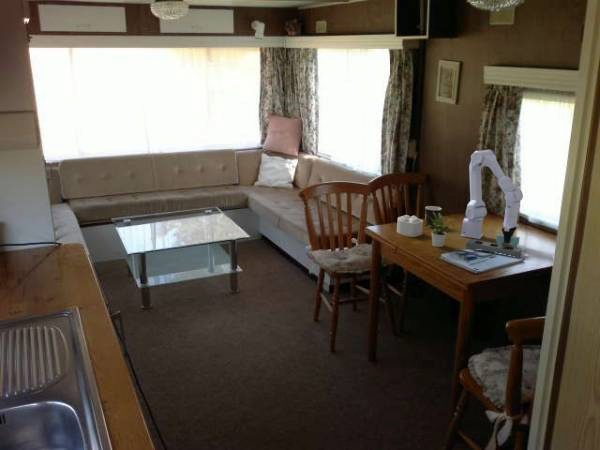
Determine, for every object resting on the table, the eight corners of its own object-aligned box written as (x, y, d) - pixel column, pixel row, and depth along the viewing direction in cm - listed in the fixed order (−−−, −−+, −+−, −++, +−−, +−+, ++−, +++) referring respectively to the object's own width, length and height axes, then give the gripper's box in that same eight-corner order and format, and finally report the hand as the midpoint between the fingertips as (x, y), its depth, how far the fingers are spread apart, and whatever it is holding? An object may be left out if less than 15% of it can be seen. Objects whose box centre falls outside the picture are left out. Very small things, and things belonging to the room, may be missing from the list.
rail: (465, 248, 262) (466, 242, 261) (469, 245, 267) (469, 239, 266) (518, 258, 250) (519, 251, 250) (521, 254, 255) (522, 248, 255)
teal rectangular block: (495, 245, 267) (496, 235, 266) (496, 244, 270) (498, 233, 268) (517, 249, 262) (518, 238, 261) (518, 247, 265) (519, 237, 263)
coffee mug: (427, 222, 303) (428, 205, 300) (442, 225, 298) (444, 207, 296) (418, 227, 294) (420, 209, 291) (433, 230, 289) (435, 212, 286)
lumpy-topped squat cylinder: (412, 237, 277) (413, 221, 274) (391, 231, 286) (393, 215, 283) (424, 234, 283) (425, 217, 281) (404, 228, 293) (405, 212, 290)
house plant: (415, 241, 270) (417, 209, 266) (438, 238, 275) (441, 207, 271) (432, 250, 258) (435, 217, 253) (456, 247, 263) (459, 214, 258)
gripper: (517, 219, 253) (513, 247, 257) (522, 212, 265) (519, 239, 269) (501, 217, 257) (497, 244, 261) (507, 210, 269) (504, 237, 273)
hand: (507, 242), depth 265 cm, fingers open, 3 cm apart
